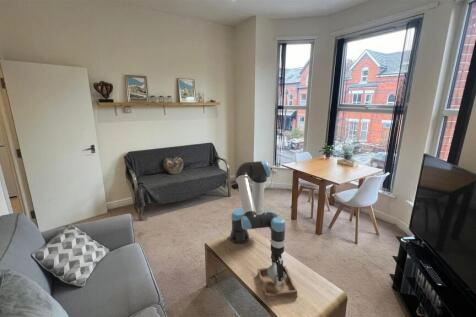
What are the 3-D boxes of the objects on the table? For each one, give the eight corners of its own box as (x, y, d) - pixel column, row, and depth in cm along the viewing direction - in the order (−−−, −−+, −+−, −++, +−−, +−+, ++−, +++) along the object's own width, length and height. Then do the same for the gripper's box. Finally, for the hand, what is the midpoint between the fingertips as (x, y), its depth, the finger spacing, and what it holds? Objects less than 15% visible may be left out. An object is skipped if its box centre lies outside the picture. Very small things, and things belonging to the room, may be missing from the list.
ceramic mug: (274, 286, 130) (275, 275, 128) (266, 277, 137) (267, 266, 135) (289, 280, 134) (290, 269, 133) (281, 271, 142) (281, 260, 140)
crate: (257, 274, 145) (257, 268, 144) (285, 271, 147) (285, 265, 146) (265, 301, 126) (265, 295, 125) (297, 297, 128) (297, 291, 127)
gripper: (266, 234, 139) (265, 265, 145) (276, 258, 118) (275, 294, 124) (278, 233, 140) (277, 264, 146) (290, 256, 119) (288, 292, 125)
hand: (276, 277), depth 135 cm, fingers closed on ceramic mug, 9 cm apart
